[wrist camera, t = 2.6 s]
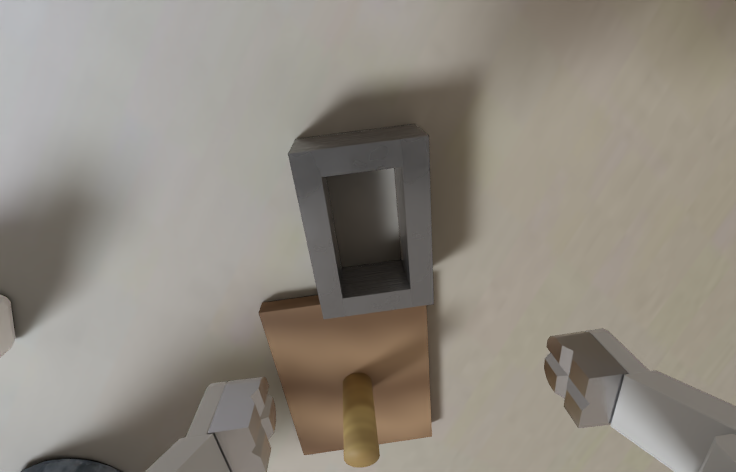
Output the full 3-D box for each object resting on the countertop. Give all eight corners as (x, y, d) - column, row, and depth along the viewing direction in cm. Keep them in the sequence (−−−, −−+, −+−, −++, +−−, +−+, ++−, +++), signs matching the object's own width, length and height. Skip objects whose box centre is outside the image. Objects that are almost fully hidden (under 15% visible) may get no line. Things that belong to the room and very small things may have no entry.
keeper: (262, 302, 22) (237, 382, 16) (422, 280, 22) (449, 352, 17) (305, 442, 28) (297, 532, 23) (428, 424, 28) (450, 509, 23)
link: (295, 139, 18) (288, 153, 15) (414, 123, 18) (428, 135, 15) (325, 287, 22) (323, 319, 19) (421, 273, 22) (433, 304, 19)
